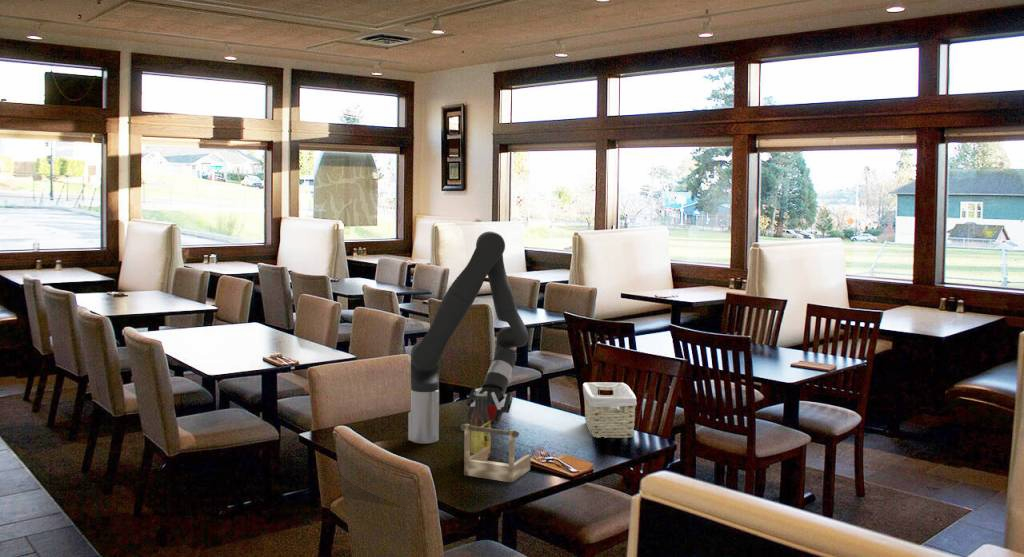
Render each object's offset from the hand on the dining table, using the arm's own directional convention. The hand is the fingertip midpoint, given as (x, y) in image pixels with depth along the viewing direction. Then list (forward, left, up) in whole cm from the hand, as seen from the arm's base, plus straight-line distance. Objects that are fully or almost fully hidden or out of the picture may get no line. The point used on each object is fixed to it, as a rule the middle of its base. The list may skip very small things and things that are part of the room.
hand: (482, 420), depth 271 cm
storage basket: (+26, +48, -12) cm, 56 cm away
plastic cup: (-17, +40, -12) cm, 45 cm away
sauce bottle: (0, -1, -12) cm, 12 cm away
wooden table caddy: (+11, -12, -11) cm, 20 cm away
